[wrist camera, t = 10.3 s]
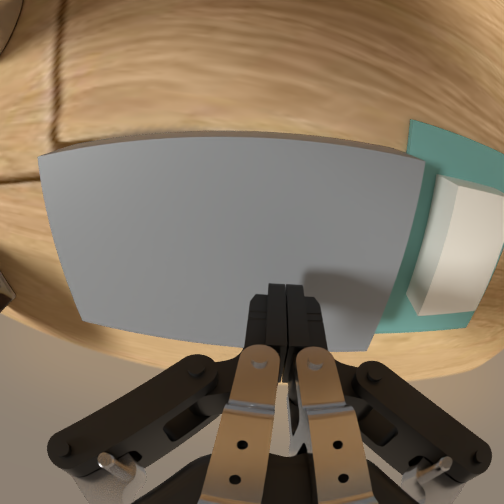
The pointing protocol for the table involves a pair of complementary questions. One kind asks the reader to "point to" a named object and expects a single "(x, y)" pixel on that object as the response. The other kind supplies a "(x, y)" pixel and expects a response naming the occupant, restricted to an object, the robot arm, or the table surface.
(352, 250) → the plate
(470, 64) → the table surface
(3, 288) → the coffee box
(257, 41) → the table surface
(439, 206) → the white rectangular block
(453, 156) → the mat
